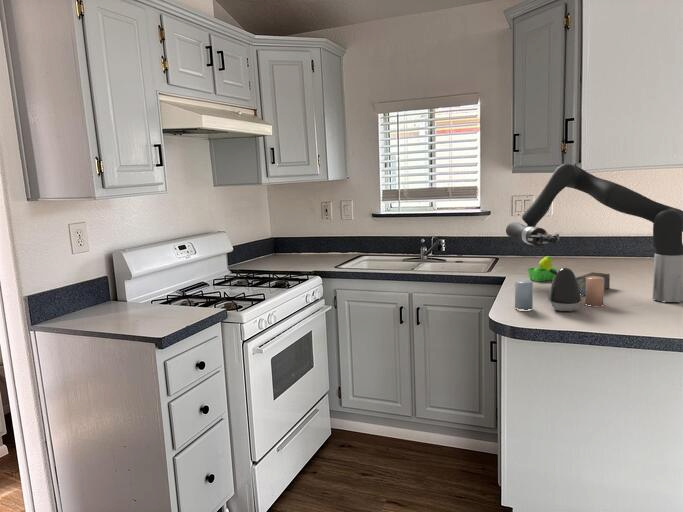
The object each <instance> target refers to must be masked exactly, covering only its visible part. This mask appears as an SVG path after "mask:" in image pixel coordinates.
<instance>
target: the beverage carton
mask: <svg viewBox="0 0 683 512" xmlns="http://www.w3.org/2000/svg"><path fill="white" fill-rule="evenodd" d="M589 276H597V277H603V278H604V289H605V290H607V288H608V289H610V288H611V287H610V283H611V282H610V280H611V279H610V278H611V277H610V273H602V272H594V271H593V272H590V273H586V274H583V275H579V276H575V277H576V279H577V282H578V285H579V289H580V294H581V296H582V295H585V289H586V277H589Z"/></svg>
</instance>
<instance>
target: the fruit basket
mask: <svg viewBox="0 0 683 512" xmlns="http://www.w3.org/2000/svg"><path fill="white" fill-rule="evenodd" d="M552 261H553V260H552V257H551V256H549V255H546V256H545V257H543V258H542V259H541V260H539V263H538V265H539V266H540V267H539V266H538V267H531V268H527V270H526V271H527V272H528V275H529V279H530V280H529V281H533V280H534V281H533V282H537V281H539V282H546V281H545V280H548V281H553V279H554V277H555V275H554V274H553V273H551V272H549V270H550V269H552V270H555V271H557V272H558V271H559V269H558V268H556V267H553V262H552Z"/></svg>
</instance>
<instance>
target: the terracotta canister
mask: <svg viewBox="0 0 683 512" xmlns="http://www.w3.org/2000/svg"><path fill="white" fill-rule="evenodd" d="M584 299H585V300H584V305H585V304H587V305H591V306H602V305H603V306H604V303H605V290H604V278H603V277H597V276H589V277H586V289H585V296H584ZM603 306H602V307H603Z"/></svg>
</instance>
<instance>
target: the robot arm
mask: <svg viewBox="0 0 683 512" xmlns="http://www.w3.org/2000/svg"><path fill="white" fill-rule="evenodd" d="M565 188H571V189H574V190H577V191H580V192H583V193H585V194H587V195H589V196H590V197H592V198H593V199H595V200H596V202H599V203H600V204H601V205H604V206H606V207H608V208H610V209H612V210H614V211H616V212H619V213H622V214H626V215H630V216H633V217H637V218H638V217H639V218H642V219H643V220H647V221H649V222H651V223H653V224H652V245H653V249H654V254H653V255H654V258H653V282H652V283H653V285H652V300H653V299H655V300H658V301H665V302H681V301H682V302H683V210H682V209H680V208H678V207H677V208H676V207H673V206H669V205H668V204H667V205H666V204H664V203H661V202H658V201H656V200H652V199H651V198H649V197H647V196H645V195H643V194H642V193H639V192H637V191H634V190H632V189H630V188H628V187H626V186H624V185H622V184H619V183H617V182H613V181H611V180H606V179H604V178H600V177H597V176H595V175H593V174H591V173H590V172H588V171H586V170H584V169H583V168H581V167H579V166H577V165H575V164H570V163H563V164H561V165H558V167H556V169H555V170H554V171H553V173H552V175H551V176H550V178H549V179H548V181H547V183H546V185H545V186H544V187H543V189H542V190H541V192H540V193H539V194H538V196H537V197H536V198H535V200H534V201H533V203H532V204H531V205H530V206H529V207H528V208H527V209H526V211H525V212H523V214H522V216H521V219H522V220H523V221H524V223H525V224H526V225H525V224H523V223H521V222H519V221H512V222H510V223H509V224H507V226H506V228H505V233H506V235H507V236H508V237H510V239H513V240H514V241H516V242H517V243H520V244H525V243H526V244H527V245H529V246H530V245H531V246H535V247H543V246H544V245H546V244H551V245H552V244H554V245H555V244H556V243H557V242H560V234H559V233H557V234H554V235H552V234H551V233H548V231H547V230H546V229H544V228H542V227H538V226H537V225H538V223H539V222H540V221H541V220H542V219H543V218H544V216H545V215H546V214H547V213H548V212H549V209H550V207H551V206H552V203H553V202H554V200H555V198H556V197H557V196H558V195H559V193H561V192H562V190H564V189H565ZM655 300H654V301H655ZM658 301H657V302H658ZM665 302H664V303H665ZM682 302H681V303H682Z"/></svg>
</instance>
